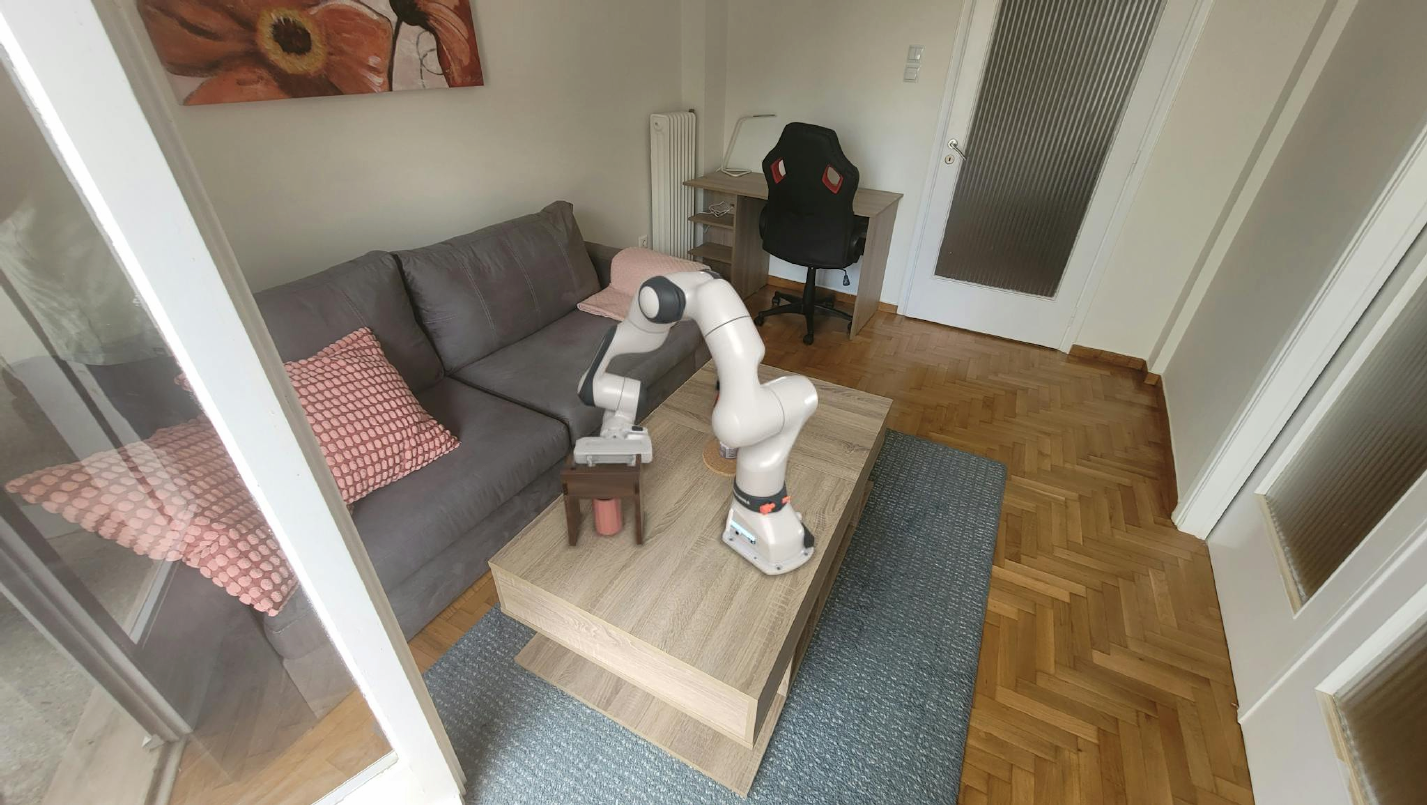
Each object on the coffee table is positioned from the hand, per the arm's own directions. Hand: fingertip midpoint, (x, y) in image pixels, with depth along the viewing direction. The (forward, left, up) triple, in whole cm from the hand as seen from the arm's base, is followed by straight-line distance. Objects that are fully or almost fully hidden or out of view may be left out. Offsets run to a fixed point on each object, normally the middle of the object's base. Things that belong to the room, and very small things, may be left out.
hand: (611, 469), depth 146 cm
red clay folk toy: (+16, -46, -8) cm, 49 cm away
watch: (+29, -55, -8) cm, 62 cm away
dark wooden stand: (-12, +7, -7) cm, 15 cm away
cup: (-10, +6, -7) cm, 14 cm away
